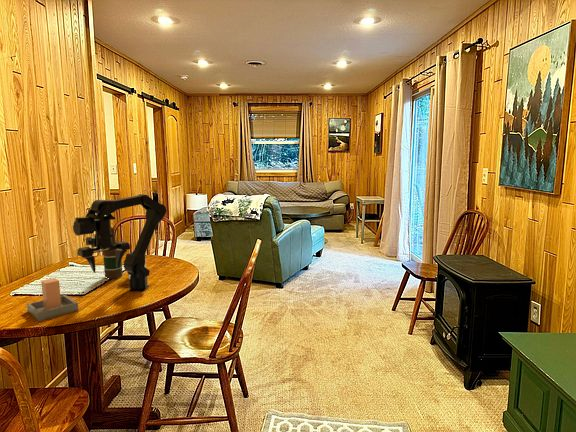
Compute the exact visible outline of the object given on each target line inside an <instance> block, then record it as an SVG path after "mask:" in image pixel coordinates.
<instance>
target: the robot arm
mask: <svg viewBox="0 0 576 432" xmlns="http://www.w3.org/2000/svg"><path fill="white" fill-rule="evenodd" d="M140 205H141V207H142V208H143V210H146V211H145V222H144V225H143V227H142V230H141V232H140V235H139V237H138V239H137V242H136V245H135V247H134V249H133V251H132V253H131V252H130V253H131V254H128V253H127V252H128V251H129V250H131V244H130V243H129V242H128V241H124V240H123V241H116V242H115V245H113V244H112V237H113V234H111V226H112V225H111V224H112V223H111V220H116V219H117V218H116V217H115V216H114V215H112V214H113V213H115V212H117V211H118V210H121V209H126V208H129V207H135V206H140ZM166 214H167V207H166V206H165V204H164V203H160V202H158V201H156V200H155V199H153V198H152V197H150V196H149V195H148V194H142V193H140V194H137V195H133V196H127V197H122V198H121V197H120V198H117V199H96V200H93V202H92V203H91V206H90V209H89V210H88V212H87V213H86V214H85V216H83V217H82V216H81V217H79V216H78V217H75V218H74V222H73V225H72V231H73V232H74V234H75V236H77V237H78V236H85V235H91V234H94V235H93V238H92V236H88V237H85V245H86V246H83V247H79V248H77V251H76V252H77V256H79V257H80V258H83V259H86V261H87V262H88V265H89V266H90V269H91V270H92V272H93V273H96V260H95V259H96V257H95V256H94V254H96V253H103V252H104V251H108V250H114V249H115V253H116V267H117V268H118V267H119V264H120V262H121V260H123V257H124V255H125V254H126V255H125V259H124V260H123V261H122V262H123V263H122V264H123V269H124V271H126V272H127V275H128V276H129V275H131V276H130V279H129V278H128V283H129V285H128V286H129V292H144V291H147V289H148V288H149V287H150V284H149V285H148V277H149V276H150V273H151V271H150V270H149V269H148V268H147V266H146V267H144V266H145V253H147V250H148V247H149V246H150V244H151V241H152V238H153V236H154V233H155V231H156V228H157V226H158V224H159V223H160V222H161V221H162V220H163V219H164V218H165V216H166ZM89 246H91V247H89Z"/></svg>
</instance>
